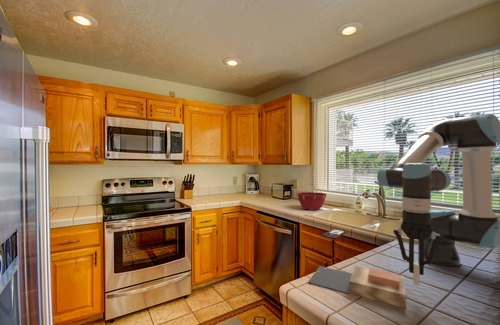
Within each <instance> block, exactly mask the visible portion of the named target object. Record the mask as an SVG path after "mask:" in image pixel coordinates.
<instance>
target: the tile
mask: <svg viewBox="0 0 500 325" xmlns="http://www.w3.org/2000/svg"><path fill="white" fill-rule="evenodd" d="M368 269H369V274H368V281H373V282H377V283H381V284H385V285H389V286H394V287H398V288H399V276H400V274H398V273H395V272H389V271H385V270H382V269H381V270H379V269H375V268H370V267H369V268H368Z"/></svg>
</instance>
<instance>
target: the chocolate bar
mask: <svg viewBox="0 0 500 325" xmlns="http://www.w3.org/2000/svg"><path fill="white" fill-rule="evenodd" d="M345 234H347V231H343V230H339V229H334V228H333V229H330V230H329V231H327V232H324V233H322V234H321V235H320V236H321V237H323V238H328V239H334V240H337V239H339V238H340V237H342V236H343V235H345Z"/></svg>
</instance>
